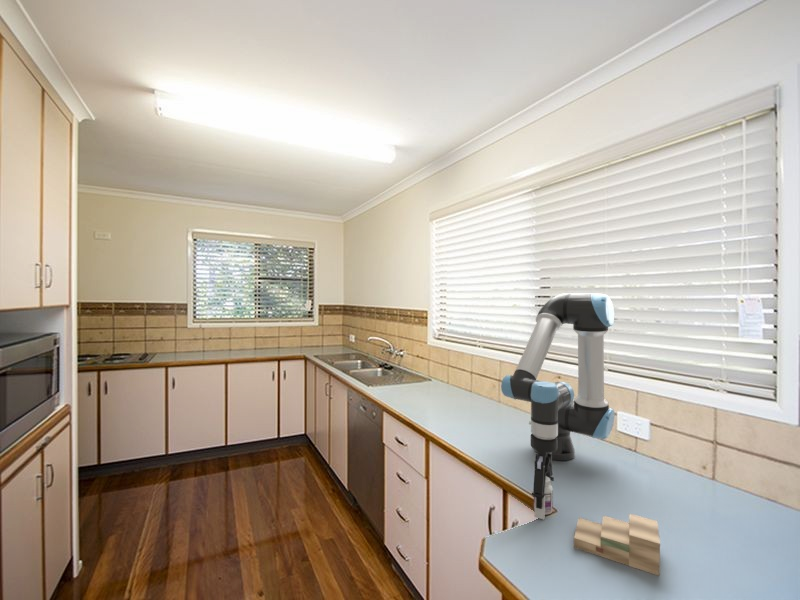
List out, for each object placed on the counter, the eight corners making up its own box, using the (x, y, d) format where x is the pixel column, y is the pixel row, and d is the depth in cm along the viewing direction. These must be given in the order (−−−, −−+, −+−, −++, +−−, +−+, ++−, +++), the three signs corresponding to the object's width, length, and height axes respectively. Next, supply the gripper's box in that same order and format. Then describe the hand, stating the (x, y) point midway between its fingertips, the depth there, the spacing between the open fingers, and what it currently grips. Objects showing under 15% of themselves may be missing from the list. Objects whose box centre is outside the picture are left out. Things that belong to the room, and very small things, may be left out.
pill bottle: (537, 502, 116) (537, 472, 115) (555, 509, 112) (555, 477, 112) (530, 510, 112) (531, 478, 111) (549, 517, 108) (549, 484, 108)
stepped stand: (578, 526, 104) (578, 499, 104) (656, 550, 95) (657, 521, 94) (573, 548, 95) (574, 519, 95) (659, 576, 86) (660, 544, 86)
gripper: (538, 421, 122) (537, 489, 123) (522, 444, 104) (521, 524, 105) (563, 426, 119) (562, 496, 119) (550, 451, 100) (549, 533, 101)
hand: (542, 509), depth 112 cm, fingers open, 9 cm apart
